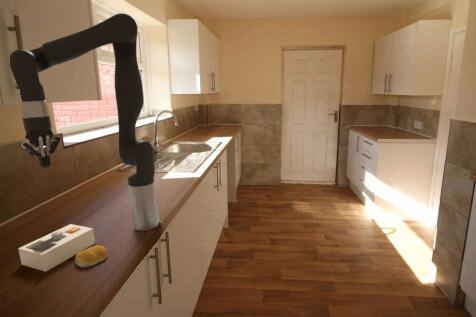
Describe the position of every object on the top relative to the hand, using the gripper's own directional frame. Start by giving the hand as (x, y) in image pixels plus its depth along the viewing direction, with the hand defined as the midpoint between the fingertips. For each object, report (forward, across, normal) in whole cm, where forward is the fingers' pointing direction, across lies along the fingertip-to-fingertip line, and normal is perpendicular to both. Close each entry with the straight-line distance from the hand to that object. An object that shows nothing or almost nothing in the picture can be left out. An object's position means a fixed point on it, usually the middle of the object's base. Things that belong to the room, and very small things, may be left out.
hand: (45, 167), depth 104 cm
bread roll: (+27, +5, +22) cm, 35 cm away
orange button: (+24, 0, +9) cm, 25 cm away
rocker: (+21, +12, +8) cm, 26 cm away
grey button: (+22, +6, +9) cm, 25 cm away
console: (+27, +6, +8) cm, 29 cm away
